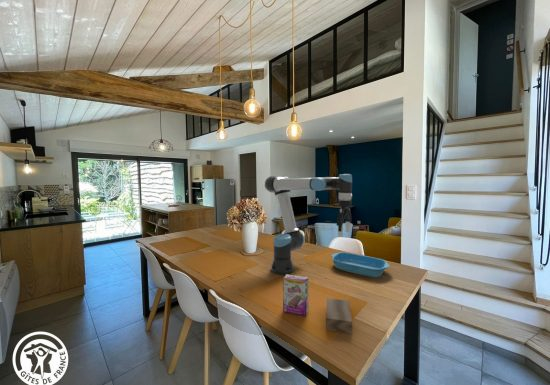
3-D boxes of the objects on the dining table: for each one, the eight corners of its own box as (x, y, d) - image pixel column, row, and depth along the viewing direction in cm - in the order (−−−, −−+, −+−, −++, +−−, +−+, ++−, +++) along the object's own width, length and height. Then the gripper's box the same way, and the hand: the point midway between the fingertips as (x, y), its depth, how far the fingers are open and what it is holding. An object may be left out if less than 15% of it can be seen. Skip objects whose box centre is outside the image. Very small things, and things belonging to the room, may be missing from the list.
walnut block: (326, 329, 95) (326, 318, 94) (326, 308, 110) (327, 298, 110) (351, 333, 92) (352, 321, 92) (348, 310, 108) (349, 300, 108)
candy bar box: (282, 312, 107) (282, 278, 106) (285, 306, 112) (285, 273, 111) (306, 317, 104) (306, 281, 102) (308, 310, 108) (308, 276, 107)
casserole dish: (391, 270, 155) (391, 259, 154) (385, 283, 136) (386, 271, 136) (337, 259, 176) (337, 250, 175) (326, 269, 157) (326, 258, 157)
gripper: (344, 202, 128) (343, 239, 129) (357, 198, 148) (356, 231, 150) (331, 201, 132) (330, 237, 134) (345, 197, 152) (344, 229, 154)
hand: (344, 234), depth 142 cm, fingers open, 13 cm apart
